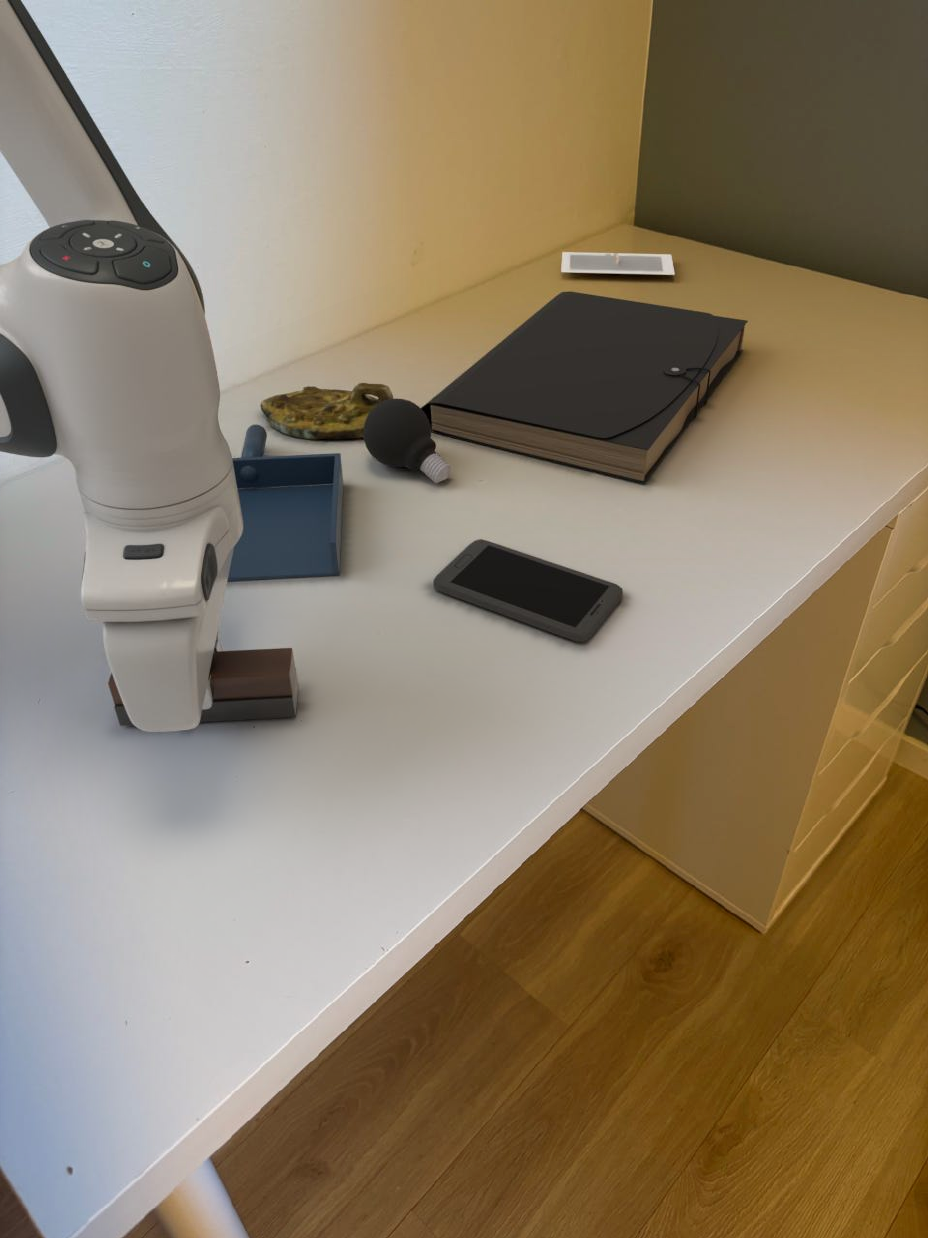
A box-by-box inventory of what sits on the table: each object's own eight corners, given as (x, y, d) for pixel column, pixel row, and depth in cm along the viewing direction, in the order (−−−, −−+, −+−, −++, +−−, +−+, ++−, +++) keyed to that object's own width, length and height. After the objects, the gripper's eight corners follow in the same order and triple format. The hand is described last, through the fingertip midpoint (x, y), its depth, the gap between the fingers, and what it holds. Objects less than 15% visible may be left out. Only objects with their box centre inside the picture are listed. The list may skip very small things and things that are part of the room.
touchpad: (673, 282, 132) (675, 266, 131) (560, 280, 133) (561, 263, 132) (670, 262, 138) (672, 246, 137) (562, 259, 139) (562, 244, 138)
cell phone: (476, 543, 85) (476, 536, 84) (626, 594, 79) (627, 586, 79) (429, 588, 80) (429, 580, 80) (585, 645, 74) (585, 638, 74)
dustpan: (339, 575, 82) (335, 542, 80) (130, 586, 81) (121, 552, 79) (345, 442, 99) (342, 412, 97) (173, 450, 99) (167, 419, 96)
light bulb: (439, 459, 88) (363, 390, 91) (412, 512, 92) (340, 445, 95) (481, 444, 93) (408, 379, 95) (454, 495, 97) (384, 431, 99)
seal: (248, 444, 101) (392, 452, 99) (239, 404, 98) (387, 412, 96) (274, 394, 108) (409, 400, 106) (266, 355, 104) (406, 361, 102)
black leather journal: (650, 446, 90) (419, 395, 99) (646, 485, 92) (421, 433, 101) (750, 317, 112) (554, 286, 121) (744, 352, 115) (553, 318, 124)
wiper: (295, 717, 69) (285, 653, 65) (119, 726, 68) (99, 662, 64) (298, 685, 71) (288, 623, 68) (129, 694, 71) (110, 631, 67)
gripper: (143, 429, 67) (181, 591, 76) (71, 619, 52) (130, 796, 60) (237, 426, 68) (264, 588, 76) (194, 613, 52) (235, 790, 61)
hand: (205, 681), depth 68 cm, fingers closed on wiper, 3 cm apart
